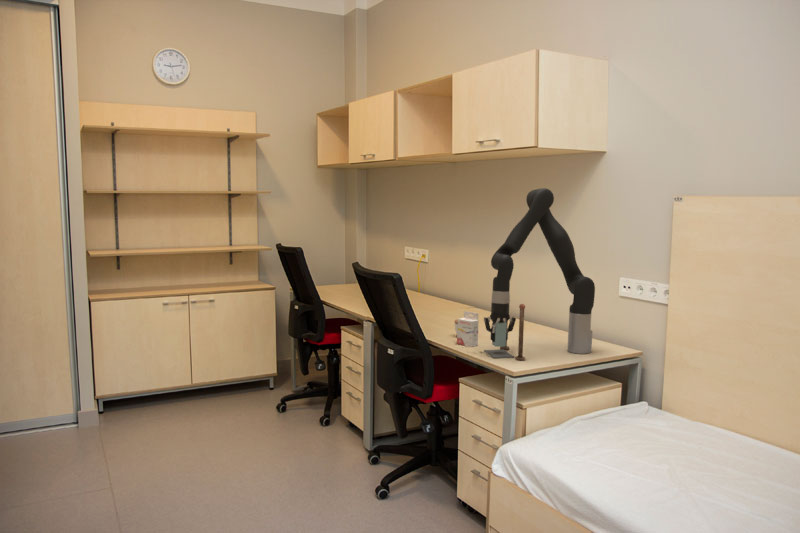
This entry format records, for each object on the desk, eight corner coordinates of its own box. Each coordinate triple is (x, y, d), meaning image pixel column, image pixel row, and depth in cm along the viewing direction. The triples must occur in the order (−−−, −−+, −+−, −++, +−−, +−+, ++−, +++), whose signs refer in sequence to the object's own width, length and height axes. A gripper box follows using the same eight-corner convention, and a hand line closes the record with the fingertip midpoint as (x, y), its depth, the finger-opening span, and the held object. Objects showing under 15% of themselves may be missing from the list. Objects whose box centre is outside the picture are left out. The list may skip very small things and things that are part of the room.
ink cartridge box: (456, 344, 273) (457, 312, 271) (462, 342, 277) (463, 310, 275) (471, 347, 267) (472, 314, 266) (478, 345, 271) (479, 313, 269)
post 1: (507, 347, 267) (509, 296, 265) (510, 350, 263) (512, 297, 261) (498, 348, 266) (500, 296, 264) (501, 350, 262) (503, 297, 260)
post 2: (522, 358, 249) (525, 303, 247) (526, 360, 246) (528, 304, 243) (513, 358, 249) (515, 303, 246) (517, 361, 245) (519, 304, 242)
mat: (503, 350, 262) (503, 349, 261) (513, 357, 250) (514, 356, 250) (483, 351, 260) (483, 350, 260) (493, 358, 248) (493, 357, 248)
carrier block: (501, 344, 257) (502, 321, 256) (505, 346, 253) (506, 323, 252) (491, 344, 256) (492, 321, 255) (495, 346, 252) (496, 323, 251)
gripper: (513, 299, 257) (511, 339, 259) (481, 300, 255) (479, 339, 257) (519, 302, 250) (518, 343, 252) (487, 303, 247) (485, 343, 249)
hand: (498, 341), depth 254 cm, fingers closed on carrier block, 4 cm apart
